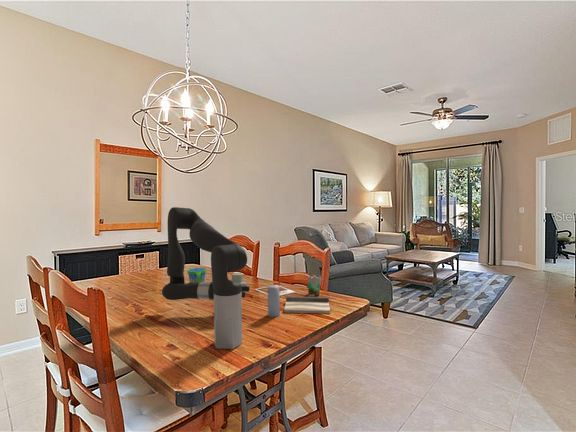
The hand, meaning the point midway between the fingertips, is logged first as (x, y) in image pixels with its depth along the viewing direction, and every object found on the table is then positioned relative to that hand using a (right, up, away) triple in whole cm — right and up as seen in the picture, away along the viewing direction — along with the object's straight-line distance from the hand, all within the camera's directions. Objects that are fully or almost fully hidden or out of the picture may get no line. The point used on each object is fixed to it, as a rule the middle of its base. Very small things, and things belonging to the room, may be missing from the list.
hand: (247, 291), depth 133 cm
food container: (+32, -9, +28) cm, 43 cm away
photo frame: (+10, -9, +36) cm, 39 cm away
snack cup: (-35, -9, +47) cm, 59 cm away
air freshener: (-10, -9, +35) cm, 37 cm away
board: (+26, -9, +8) cm, 29 cm away
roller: (+11, -10, -1) cm, 15 cm away
